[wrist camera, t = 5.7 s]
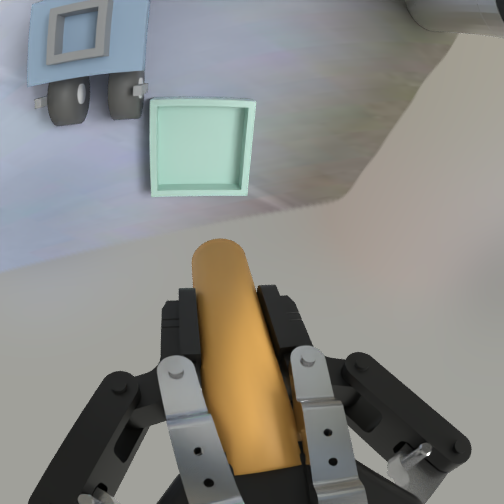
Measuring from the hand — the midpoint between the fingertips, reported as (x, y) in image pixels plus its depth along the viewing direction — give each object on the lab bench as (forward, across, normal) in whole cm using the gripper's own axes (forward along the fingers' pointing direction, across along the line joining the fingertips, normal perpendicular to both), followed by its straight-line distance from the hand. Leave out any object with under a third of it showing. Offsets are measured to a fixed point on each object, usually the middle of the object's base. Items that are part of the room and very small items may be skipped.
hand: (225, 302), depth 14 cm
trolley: (+29, +12, -14) cm, 34 cm away
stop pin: (+3, 0, 0) cm, 3 cm away
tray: (+29, 0, 0) cm, 29 cm away
